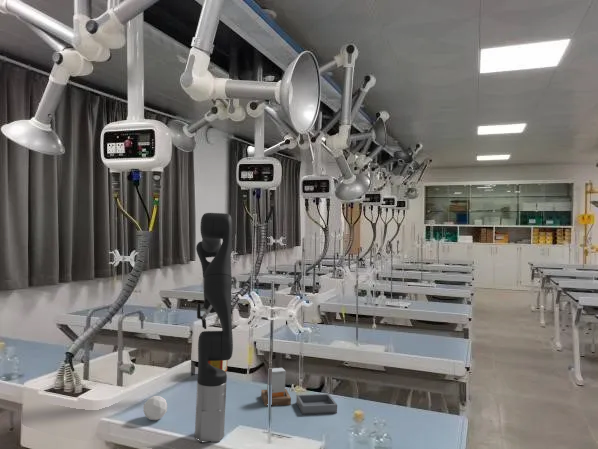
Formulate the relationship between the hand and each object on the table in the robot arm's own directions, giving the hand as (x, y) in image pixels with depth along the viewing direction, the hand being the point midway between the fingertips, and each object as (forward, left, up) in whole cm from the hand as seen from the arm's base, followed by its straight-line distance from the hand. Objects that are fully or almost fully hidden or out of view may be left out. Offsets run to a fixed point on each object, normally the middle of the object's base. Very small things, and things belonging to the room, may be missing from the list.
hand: (215, 327), depth 184 cm
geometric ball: (-27, +20, -25) cm, 42 cm away
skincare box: (-15, -24, -25) cm, 38 cm away
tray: (-24, -38, -25) cm, 51 cm away
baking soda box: (+20, -3, -25) cm, 33 cm away
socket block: (-15, -24, -25) cm, 38 cm away
